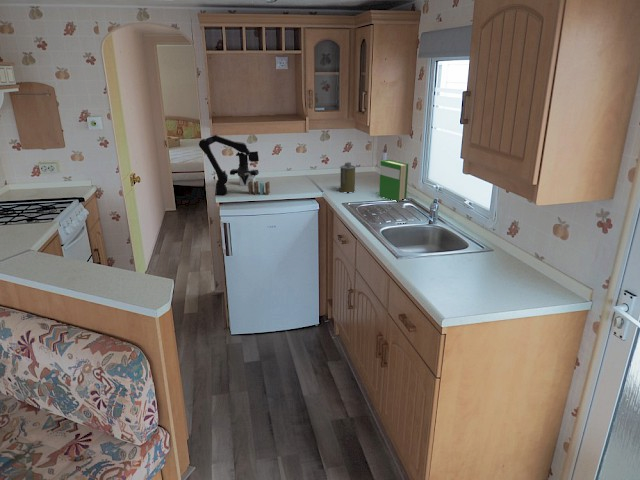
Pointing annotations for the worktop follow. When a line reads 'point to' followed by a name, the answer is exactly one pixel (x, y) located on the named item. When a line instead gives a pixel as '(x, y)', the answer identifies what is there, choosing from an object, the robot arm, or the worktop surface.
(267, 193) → the domino
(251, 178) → the light bulb box
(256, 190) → the domino
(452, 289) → the worktop surface
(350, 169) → the canister
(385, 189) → the hardback book
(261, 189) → the teal domino
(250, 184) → the domino
